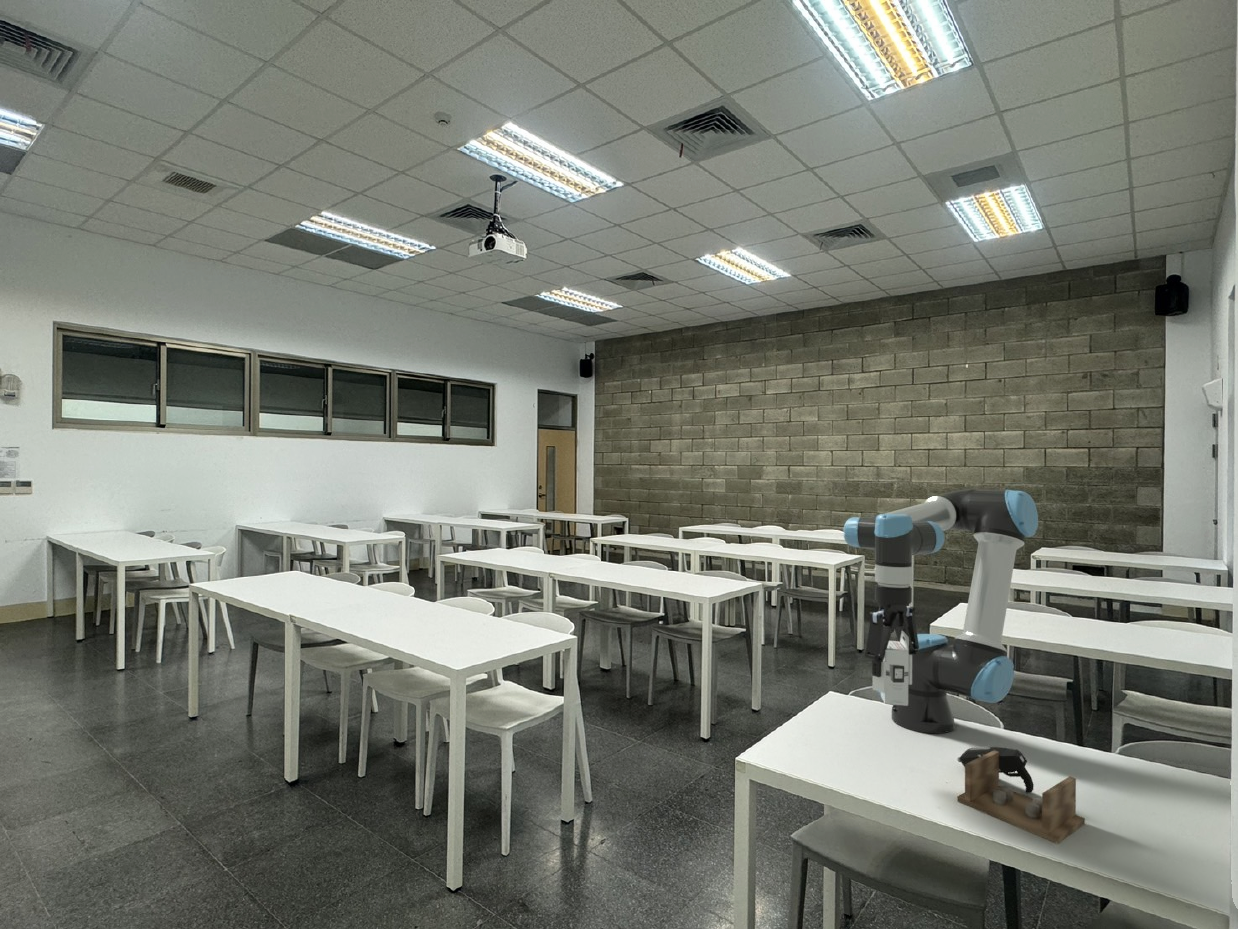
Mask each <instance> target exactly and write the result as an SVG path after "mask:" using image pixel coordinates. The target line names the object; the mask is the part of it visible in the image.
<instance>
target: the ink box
mask: <svg viewBox="0 0 1238 929" xmlns="http://www.w3.org/2000/svg"><path fill="white" fill-rule="evenodd" d="M903 637H904V638H905V641H904V639H903ZM883 661H884V662H886V693H882V692H879V691H877V692H878V694H879V696H880V698H881V699H882V701H883V703H884V704H885V705H892V706H893V705H905V706H907V705H908V673H909V638H908V636H907V635H906V634H905V632H904V631H903V630H902V632H901V637H900V642H899V641H898V640H897V641H896V640H889V643H888V646H887V649H886V650H885V656H884V660H883Z"/></svg>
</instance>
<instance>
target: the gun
mask: <svg viewBox="0 0 1238 929" xmlns="http://www.w3.org/2000/svg"><path fill="white" fill-rule="evenodd" d="M994 750H995V751H998V752H999V774H1000V773H1001V774H1004V775H1006V776H1007V777H1010V778H1015V777H1016V778H1021V780H1023V783H1024V786H1025V793H1032V792H1033V791H1034V786H1035V784H1034V782H1033V779H1032V778H1033V777H1032V776H1031V775H1030V773H1029V771H1028V770H1027V768H1026V765H1027V763H1028V760H1027V759H1026V757H1025V756H1024V755H1023V753H1022V752H1021V751H1019V750H1018V749H1014V748H1007V747H999V746H976V747H975V746H973V747H969V748H967V749H966V750H965V751H964V752H963V753H962V754H961V755H960V756H958V757H957V758H956V759H957V761H958V763H961V764H962V766H963V767H964V768H965V764H967V763H969V762H971V761H973V760H975V759H977V758H979V757H981V756H983V755H985V754H987V753H989V752H991V751H994Z"/></svg>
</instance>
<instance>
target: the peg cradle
mask: <svg viewBox="0 0 1238 929" xmlns="http://www.w3.org/2000/svg"><path fill="white" fill-rule="evenodd" d="M1076 778H1077V777H1073V776H1071V775H1070V776H1068V777H1066V778H1065V779H1063V780H1061V781H1060V782H1058V783H1056V784H1055V785H1053V786H1052V787H1050V788H1048V789H1047V790H1045V791H1044V792H1042V793H1041V796H1042V797H1041V798H1038V797H1035V798H1033V797H1030V796H1028V795H1026V794H1023V793H1020V792H1017V791H1015V790H1014V789H1013V788H1012V787H1010V786H1008V785H1000V773H999V752H998V751H995V750H994V751H991V752H989V753H987V754H985V755H983V756H981V757H979V758H977V759H975V760H973V761H971V762H969V763H967V764H965V767H964V792H962V793H961V794H959V795H957V799H956V800H957V802H959V803H960V804H963V805H965V806H968V807H969V808H972V809H974V810H977V811H979V812H981V813H984V814H987V815H989V816H991V817H994V818H996V819H998V820H1000V821H1002V822H1005V823H1007V824H1010V825H1012V826H1015V827H1018V828H1020V829H1022V830H1024V831H1027V832H1029V833H1031V834H1033V835H1037V836H1038V837H1040V838H1044V839H1045V840H1048V841H1050V842H1052V843H1055V844H1059V843H1061V842H1062V841H1063V840H1065V839H1066V838H1067V837H1070V835H1071V834H1073V833H1074V832H1075V831H1077V830H1078V829H1080V828H1081V827H1082V826H1084V825H1085V823H1086V822H1085V821H1086V818H1085V817H1082V816H1080V815H1077V813H1076V812H1077V809H1076V808H1077V805H1076V804H1077V779H1076Z"/></svg>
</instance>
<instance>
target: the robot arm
mask: <svg viewBox="0 0 1238 929" xmlns="http://www.w3.org/2000/svg"><path fill="white" fill-rule="evenodd" d="M1038 514H1039V513H1038V510H1037V505H1036V503H1035V501H1034V499H1033V498H1032V496H1031V495H1030V494H1029V493H1028V492H1026V491H1023V490H1012V489H980V488H979V489H977V488H976V489H975V488H964V489H958V490H954V491H950V492H945V493H941V494H938V495H934V496H931V497H929V498H927V499H926V500H925V501H924V502H923V503H919V504H916V505H915V504H914V505H912V506H909V507H908V506H907V507H904V508H901V509H897V510H894V511H889V512H886V513H880V514H878V515H873V516H870V517H863V516H858V517H857V516H852V517H849V518H848V519H847V520H846V521H845V523H844V526H843V530H842V531H843V538H844V541H845V543H846V544H847V545H849V546H850V547H854V548H859V549H866V550H867V549H868V550H874V551H875V552H874V565H875V566H874V581H875V582H876V583H875V585H874V600H875V601H876V603H878V604H879V608H878V611H876V612H875V611H870V612H869V626H868V635H867V641H866V646H865V647H866V648H865V654H864V656H865V658H866V659H869V660H870V661H871V663H872V664H871V670H872V671H871V673H872V690H873V691H876V692H878V691H879V692H882V693H886V662H884V661H883V660H884V656H885V650H886V649H887V646H888V643H889V641H890V639H891V635H892V634H893V633H894V632H895V634H896V636H897V641H899V642H900V637H901V632H902V630H903V631H904V632H905V634H906V635H907V636H908V638H909V673H908V705H907V706H905V705H892V706H891V707H892V708H891V720H892V721H893V722H894V723H896V725H899V726H901V727H903V728H906V729H909V730H912V731H916V732H921V733H927V734H944V733H945V734H946V733H949V732H952V731H953V730H954V729H955V719H954V718H955V716H953V715H954V714H953V711H952V708H951V705H950V702H949V700H948V694H947V693H948V692H950V693H953V694H957V695H959V696H963V697H966V698H970V699H972V700H975V701H978V702H979V701H981V702H984V703H985V702H986V703H989V704H995V703H998V702H1001V701H1002V700H1003V699H1004V698H1006V697H1007V695H1008V693H1009V691H1010V689H1011V687H1012V684H1013V682H1014V677H1015V670H1014V668H1015V666H1014V663H1013V661H1012V659H1010V658H1009V657H1008V656H1007V653H1008V650H1007V648H1005V646H1004V645H1003V643H1002V639H1003V633H1004V632H1003V631H1004V628H1005V627H1004V626H1005V622H1006V621H1005V620H1006V614H1007V610H1008V604H1009V603H1008V602H1009V598H1010V597H1009V595H1010V591H1011V590H1010V589H1011V585H1012V578H1013V572H1014V567H1015V561H1016V555H1017V554H1016V553H1017V550H1019V549H1021V548H1022V547H1023V546H1024V545H1025V542H1026V538H1031V537H1033V536H1035V534H1036V532H1037V531H1038V527H1039V515H1038ZM950 530H952V531H963V532H973V537H974V539H975V540H976V541H977V543H978V545H977V549H976V550H977V551H976V556H975V562H974V567H973V573H972V578H971V585H970V589H969V595H968V601H967V606H966V614H965V616H964V618H965V619H964V624H963V629H962V633H961V634H959V635H956V636H955V637H954V641H953V644H949V640H948V638H947V637H946V636H944V635H941V634H936V633H935V634H933V633H918V629H917V622H916V607H915V606H909V605H910V604H911V603H912V600H913V595H912V593H913V589H912V587H911V585H912V584H913V567H912V566H913V563H912V562H913V556H919V555H920V556H921V555H926V556H928V555H929V554H930V555H931V554H933V553H936V552H938V551H939V550H941V548H942V547H943V546H944V544H945V539H946V538H945V532H946V531H950ZM944 531H945V532H944ZM903 639H904V641H905V638H904V637H903ZM879 692H878V693H879Z"/></svg>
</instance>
